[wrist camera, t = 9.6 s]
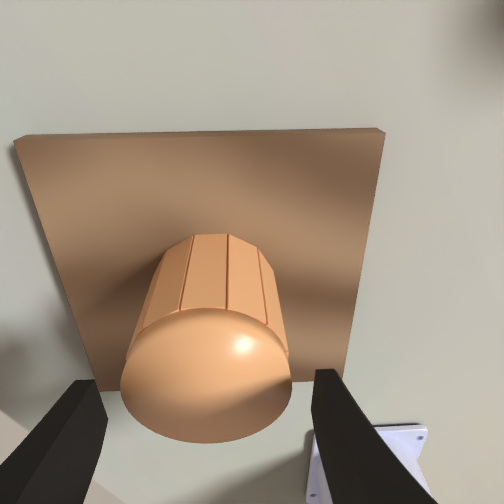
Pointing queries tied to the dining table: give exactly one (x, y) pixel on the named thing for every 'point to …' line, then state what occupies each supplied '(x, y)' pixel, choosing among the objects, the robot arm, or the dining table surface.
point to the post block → (207, 224)
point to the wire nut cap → (209, 344)
